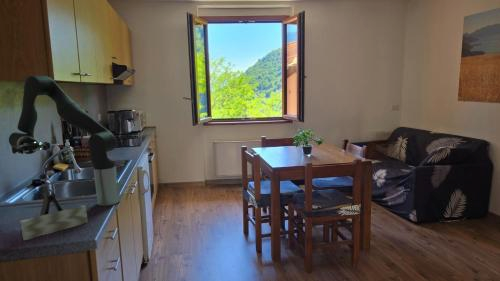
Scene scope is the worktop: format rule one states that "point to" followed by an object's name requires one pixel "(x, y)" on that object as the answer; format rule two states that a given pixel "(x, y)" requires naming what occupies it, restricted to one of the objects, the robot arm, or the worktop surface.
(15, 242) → the worktop surface
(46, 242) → the worktop surface
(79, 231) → the worktop surface
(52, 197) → the phone stand
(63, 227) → the wall board
